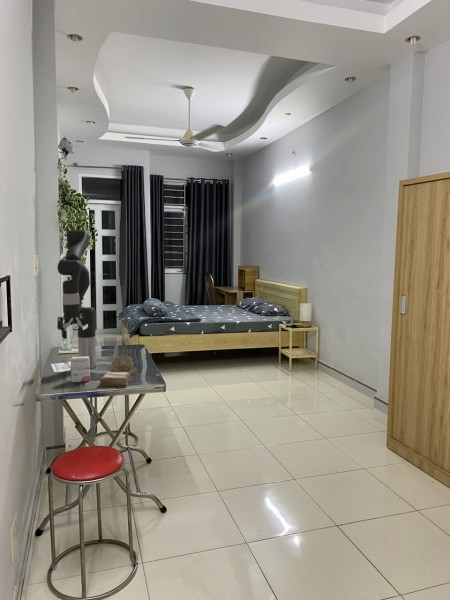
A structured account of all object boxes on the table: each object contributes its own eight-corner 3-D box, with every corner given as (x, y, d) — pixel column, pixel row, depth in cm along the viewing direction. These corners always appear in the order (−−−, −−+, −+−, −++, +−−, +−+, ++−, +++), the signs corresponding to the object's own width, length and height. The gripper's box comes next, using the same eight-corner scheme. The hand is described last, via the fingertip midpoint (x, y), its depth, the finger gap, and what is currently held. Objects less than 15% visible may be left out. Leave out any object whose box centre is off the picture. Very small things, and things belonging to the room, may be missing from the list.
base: (106, 379, 231) (106, 371, 231) (130, 379, 231) (130, 371, 231) (100, 386, 219) (100, 378, 219) (126, 386, 219) (126, 377, 219)
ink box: (90, 378, 232) (89, 355, 231) (89, 381, 227) (89, 357, 226) (72, 379, 230) (71, 356, 229) (71, 382, 226) (70, 358, 224)
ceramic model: (109, 377, 236) (109, 357, 235) (108, 371, 247) (108, 353, 246) (137, 375, 240) (137, 356, 239) (135, 370, 251) (135, 351, 250)
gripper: (78, 300, 225) (80, 333, 227) (53, 303, 213) (54, 338, 215) (88, 301, 220) (90, 335, 222) (63, 305, 209) (64, 340, 211)
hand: (72, 336), depth 219 cm, fingers open, 8 cm apart
